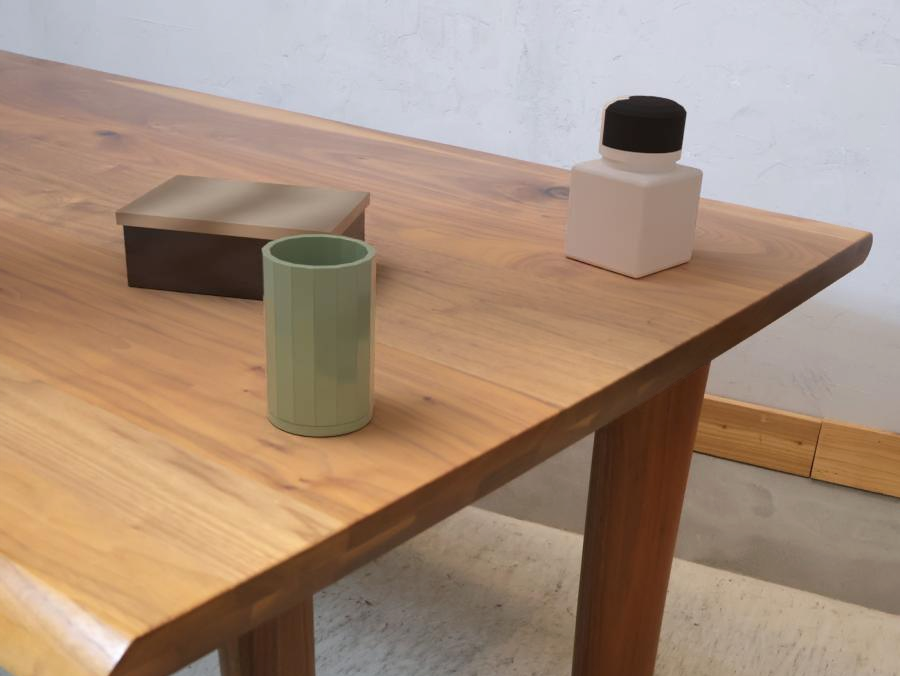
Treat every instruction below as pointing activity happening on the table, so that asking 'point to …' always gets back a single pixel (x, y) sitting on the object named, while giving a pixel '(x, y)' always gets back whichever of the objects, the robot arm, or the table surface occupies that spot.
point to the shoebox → (226, 230)
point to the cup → (319, 333)
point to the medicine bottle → (635, 191)
